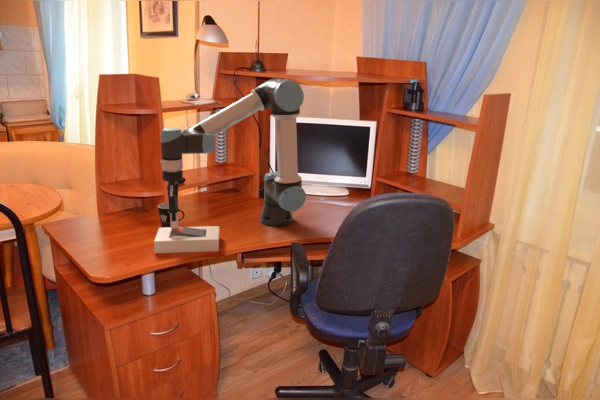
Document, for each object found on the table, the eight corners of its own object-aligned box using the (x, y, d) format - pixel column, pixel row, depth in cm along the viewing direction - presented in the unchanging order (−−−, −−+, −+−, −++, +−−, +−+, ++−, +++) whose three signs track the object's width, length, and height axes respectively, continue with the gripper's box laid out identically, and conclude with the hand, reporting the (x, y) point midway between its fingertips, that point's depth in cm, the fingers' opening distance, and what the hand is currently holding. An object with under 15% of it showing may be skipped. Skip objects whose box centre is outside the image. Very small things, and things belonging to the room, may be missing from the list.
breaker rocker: (204, 232, 180) (204, 229, 180) (203, 238, 174) (204, 235, 173) (172, 227, 177) (173, 224, 177) (170, 234, 171) (171, 231, 171)
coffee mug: (155, 226, 195) (154, 205, 191) (173, 222, 200) (172, 201, 197) (168, 234, 187) (167, 212, 184) (186, 229, 193) (185, 207, 189)
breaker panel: (219, 237, 186) (219, 226, 184) (218, 251, 172) (218, 239, 171) (160, 238, 182) (159, 227, 180) (154, 253, 169) (153, 241, 167)
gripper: (164, 165, 172) (166, 222, 179) (159, 173, 160) (162, 234, 167) (184, 165, 174) (185, 221, 181) (180, 174, 161) (182, 234, 168)
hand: (174, 227), depth 174 cm, fingers closed
